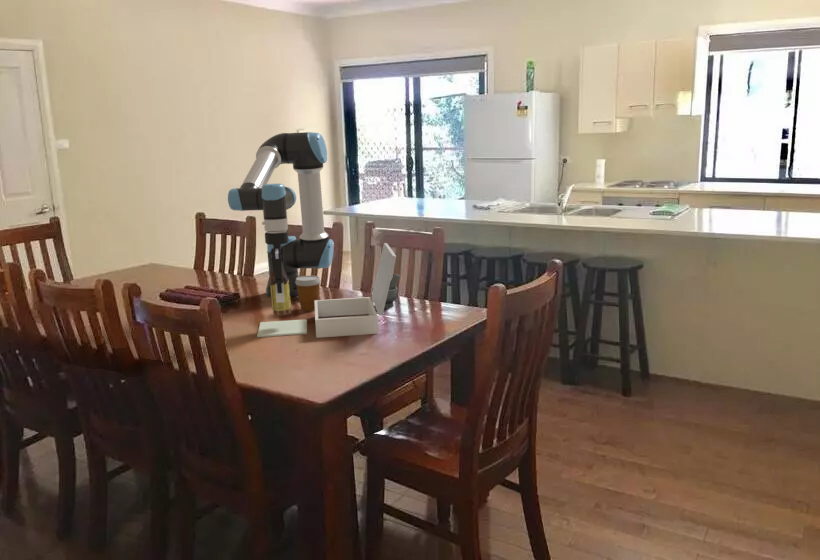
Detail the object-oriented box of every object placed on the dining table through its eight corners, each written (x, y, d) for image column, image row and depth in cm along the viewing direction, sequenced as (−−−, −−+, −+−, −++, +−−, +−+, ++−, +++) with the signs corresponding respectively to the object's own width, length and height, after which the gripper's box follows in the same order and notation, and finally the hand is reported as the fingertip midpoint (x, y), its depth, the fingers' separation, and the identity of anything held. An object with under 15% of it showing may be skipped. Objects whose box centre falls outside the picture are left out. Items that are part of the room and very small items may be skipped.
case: (315, 316, 246) (314, 300, 245) (370, 313, 249) (370, 296, 248) (316, 337, 221) (315, 319, 220) (378, 333, 224) (377, 315, 222)
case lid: (384, 242, 244) (387, 243, 244) (371, 296, 248) (374, 297, 248) (392, 255, 219) (396, 256, 219) (378, 315, 222) (382, 315, 223)
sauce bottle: (295, 313, 231) (291, 255, 226) (279, 317, 226) (275, 258, 222) (284, 310, 235) (280, 253, 231) (268, 314, 231) (264, 256, 227)
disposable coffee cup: (317, 313, 251) (315, 281, 248) (293, 312, 253) (290, 280, 250) (325, 306, 260) (324, 275, 258) (302, 305, 262) (300, 275, 259)
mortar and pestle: (378, 310, 252) (377, 278, 249) (368, 305, 260) (367, 274, 258) (406, 306, 257) (405, 275, 254) (395, 301, 265) (394, 270, 262)
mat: (260, 323, 239) (260, 322, 239) (306, 320, 241) (306, 319, 241) (257, 337, 223) (257, 335, 223) (306, 333, 225) (306, 332, 225)
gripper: (266, 228, 234) (271, 293, 239) (262, 236, 215) (267, 307, 220) (288, 227, 235) (292, 292, 240) (287, 235, 216) (291, 306, 221)
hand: (280, 299), depth 230 cm, fingers closed on sauce bottle, 6 cm apart
